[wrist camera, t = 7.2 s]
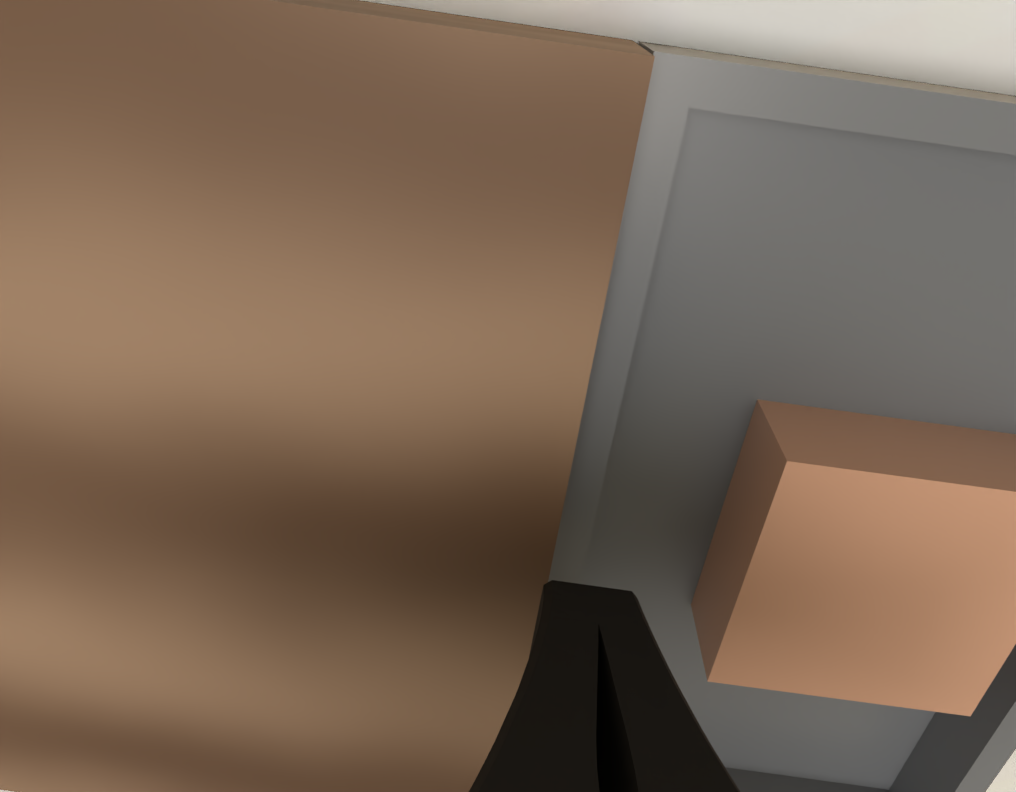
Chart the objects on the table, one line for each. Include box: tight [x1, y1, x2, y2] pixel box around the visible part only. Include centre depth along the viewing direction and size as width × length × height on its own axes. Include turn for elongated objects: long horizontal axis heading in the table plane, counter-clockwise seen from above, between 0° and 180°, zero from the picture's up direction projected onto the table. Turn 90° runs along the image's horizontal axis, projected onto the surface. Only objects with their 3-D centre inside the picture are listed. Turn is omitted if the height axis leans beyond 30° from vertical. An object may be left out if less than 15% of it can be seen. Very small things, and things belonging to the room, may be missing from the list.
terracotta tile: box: [691, 399, 1016, 716], centre depth 14 cm, size 5×5×2 cm
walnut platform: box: [0, 0, 655, 792], centre depth 14 cm, size 16×11×3 cm
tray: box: [548, 41, 1016, 792], centre depth 14 cm, size 16×10×2 cm, turn 173°
